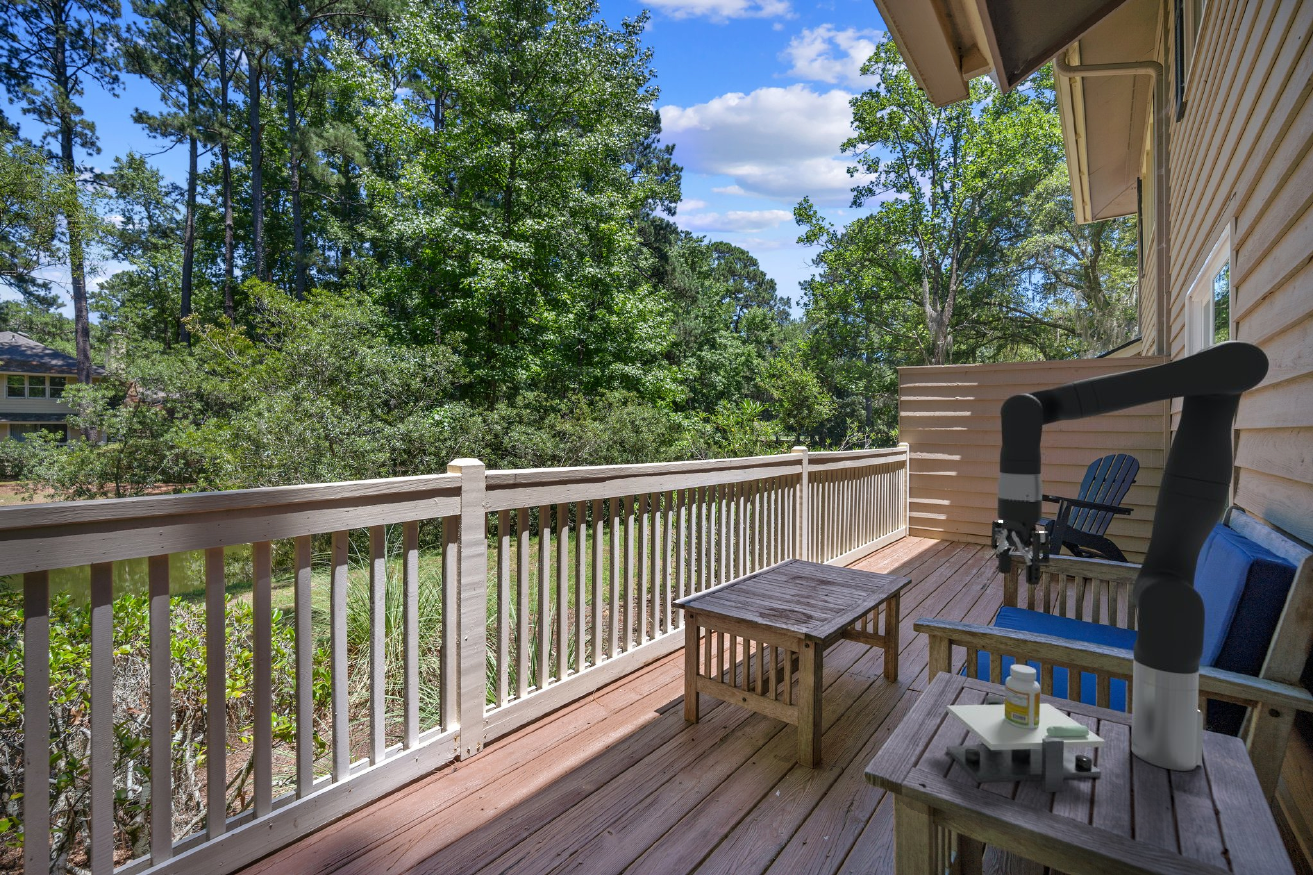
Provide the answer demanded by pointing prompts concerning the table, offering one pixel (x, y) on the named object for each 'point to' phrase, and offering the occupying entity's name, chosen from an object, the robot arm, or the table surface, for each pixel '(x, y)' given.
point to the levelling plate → (1003, 735)
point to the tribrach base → (1024, 761)
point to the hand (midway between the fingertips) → (1018, 578)
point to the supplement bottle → (1022, 697)
